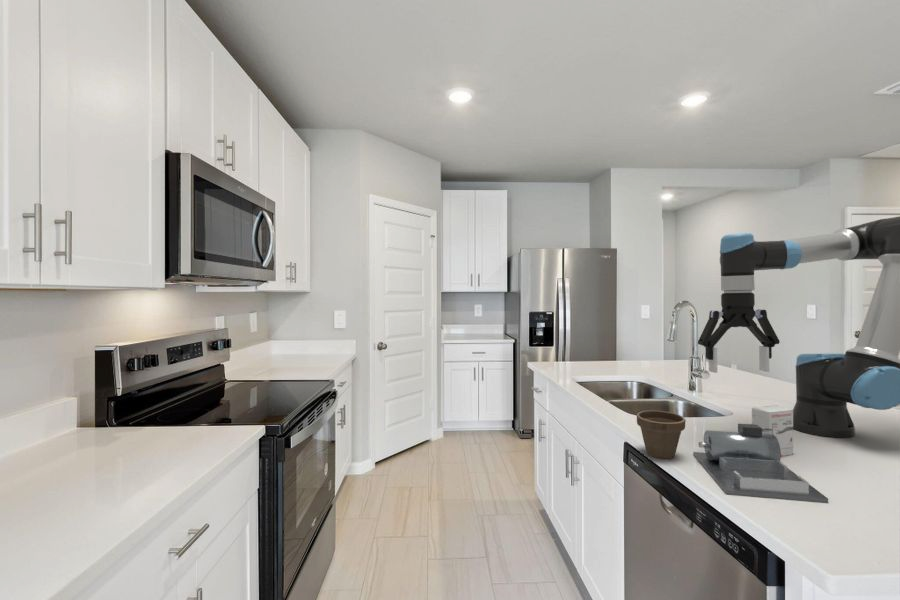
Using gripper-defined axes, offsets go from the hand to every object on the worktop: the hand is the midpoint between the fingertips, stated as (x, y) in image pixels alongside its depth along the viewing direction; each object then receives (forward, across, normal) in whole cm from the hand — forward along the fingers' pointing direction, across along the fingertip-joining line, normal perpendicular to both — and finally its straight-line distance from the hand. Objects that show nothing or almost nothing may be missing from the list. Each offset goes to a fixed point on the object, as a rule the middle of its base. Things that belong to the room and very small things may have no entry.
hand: (738, 371), depth 119 cm
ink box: (+21, -5, +4) cm, 22 cm away
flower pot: (+20, +23, +5) cm, 31 cm away
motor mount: (+20, +9, +19) cm, 29 cm away
